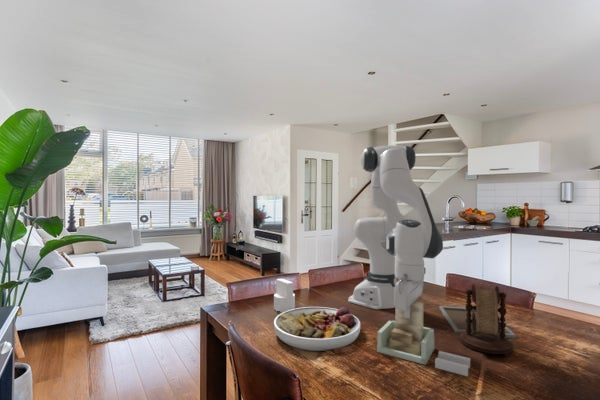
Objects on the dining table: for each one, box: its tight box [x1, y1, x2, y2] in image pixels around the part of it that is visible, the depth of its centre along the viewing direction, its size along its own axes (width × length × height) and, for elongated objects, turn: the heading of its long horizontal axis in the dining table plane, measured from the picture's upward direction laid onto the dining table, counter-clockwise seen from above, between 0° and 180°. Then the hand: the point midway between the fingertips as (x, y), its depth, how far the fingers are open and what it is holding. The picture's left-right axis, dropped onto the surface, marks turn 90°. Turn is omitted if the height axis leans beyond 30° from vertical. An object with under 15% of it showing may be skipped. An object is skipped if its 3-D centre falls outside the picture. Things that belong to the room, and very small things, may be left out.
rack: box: [376, 319, 435, 366], centre depth 100 cm, size 14×12×7 cm
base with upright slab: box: [273, 278, 296, 313], centre depth 140 cm, size 9×9×12 cm
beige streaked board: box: [394, 301, 424, 342], centre depth 102 cm, size 8×2×14 cm, turn 57°
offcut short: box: [391, 328, 414, 344], centre depth 100 cm, size 6×3×2 cm, turn 57°
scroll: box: [459, 283, 514, 358], centre depth 104 cm, size 15×15×20 cm
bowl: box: [273, 306, 361, 352], centre depth 114 cm, size 30×30×8 cm
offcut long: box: [390, 338, 421, 356], centre depth 99 cm, size 9×3×3 cm, turn 57°
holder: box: [434, 350, 471, 377], centre depth 90 cm, size 8×6×3 cm
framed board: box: [438, 305, 517, 339], centre depth 127 cm, size 19×2×30 cm
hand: (409, 315), depth 102 cm, fingers closed on beige streaked board, 2 cm apart
